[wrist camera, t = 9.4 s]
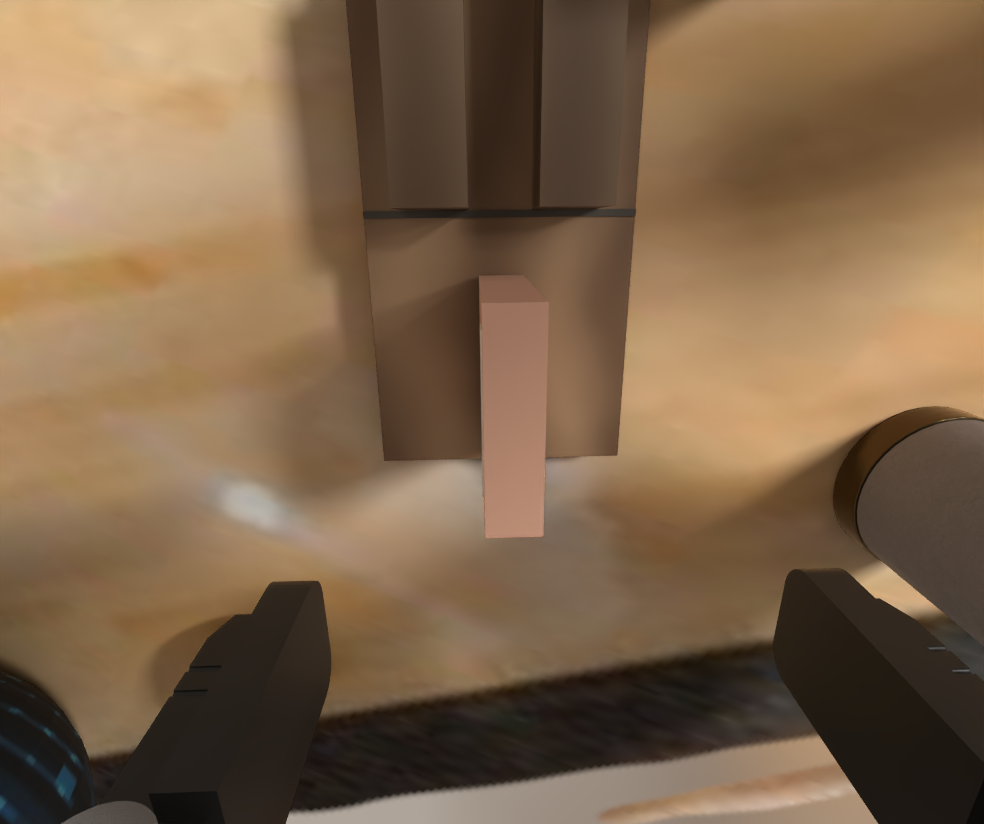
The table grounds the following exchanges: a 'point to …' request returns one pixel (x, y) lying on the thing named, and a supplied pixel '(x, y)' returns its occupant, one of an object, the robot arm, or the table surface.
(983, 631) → the lamp
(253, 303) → the table surface
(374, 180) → the block
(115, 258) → the table surface
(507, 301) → the stub
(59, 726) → the decorative sphere
